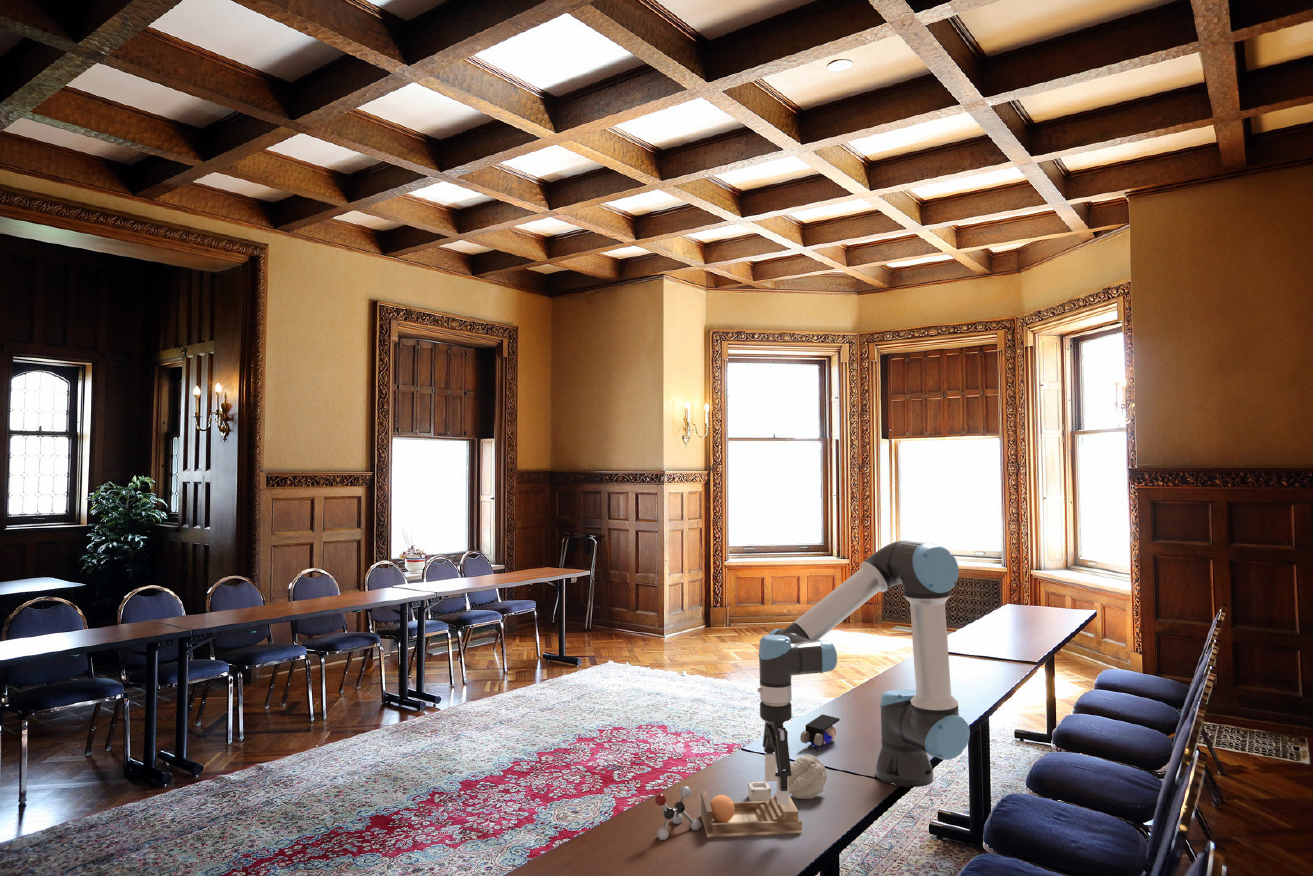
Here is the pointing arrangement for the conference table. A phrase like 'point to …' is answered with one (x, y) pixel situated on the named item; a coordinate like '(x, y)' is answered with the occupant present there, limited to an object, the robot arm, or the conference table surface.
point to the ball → (722, 808)
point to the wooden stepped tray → (753, 818)
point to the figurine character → (819, 731)
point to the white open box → (759, 791)
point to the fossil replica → (807, 777)
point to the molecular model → (676, 816)
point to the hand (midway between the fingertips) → (776, 792)
